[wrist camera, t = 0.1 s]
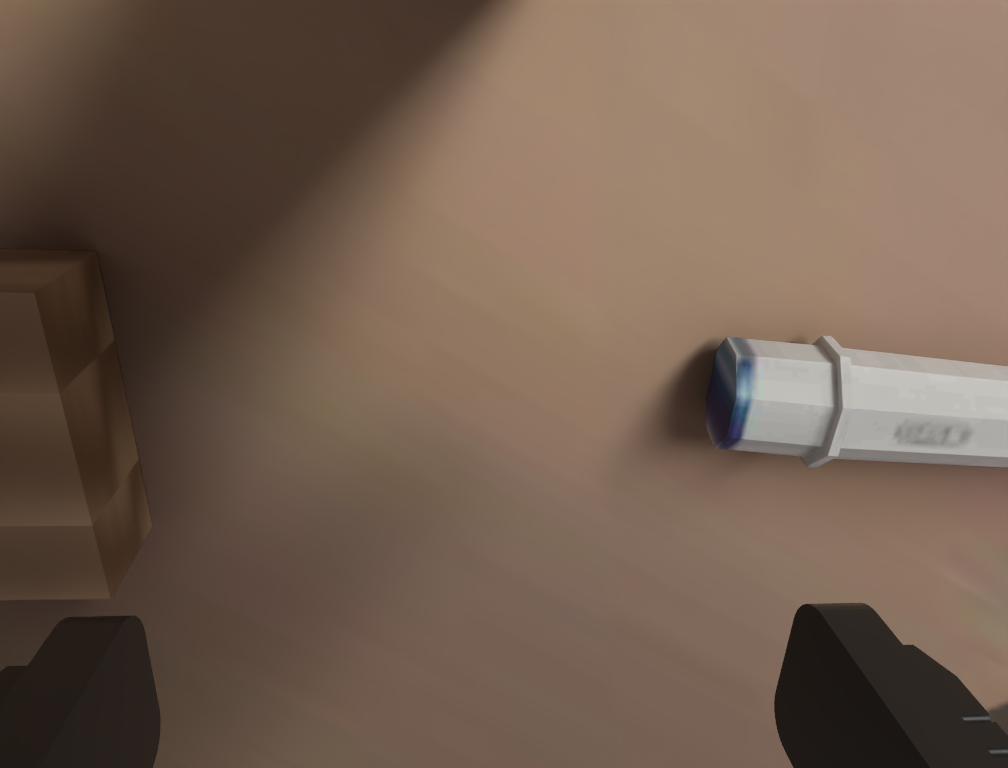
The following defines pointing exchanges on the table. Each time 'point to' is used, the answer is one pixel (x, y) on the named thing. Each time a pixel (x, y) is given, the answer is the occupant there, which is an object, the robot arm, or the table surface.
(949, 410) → the white marker pen
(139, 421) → the table surface
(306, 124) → the table surface
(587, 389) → the table surface
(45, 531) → the walnut block
